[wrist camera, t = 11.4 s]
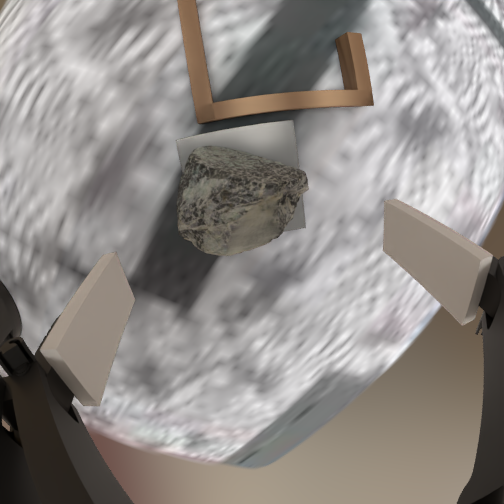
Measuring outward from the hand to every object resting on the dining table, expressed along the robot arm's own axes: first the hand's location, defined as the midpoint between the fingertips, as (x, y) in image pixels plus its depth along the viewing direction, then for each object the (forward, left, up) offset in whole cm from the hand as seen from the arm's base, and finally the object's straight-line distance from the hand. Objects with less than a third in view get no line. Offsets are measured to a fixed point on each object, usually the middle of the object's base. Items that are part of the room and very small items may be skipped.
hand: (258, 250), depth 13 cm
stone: (-1, 0, -15) cm, 15 cm away
